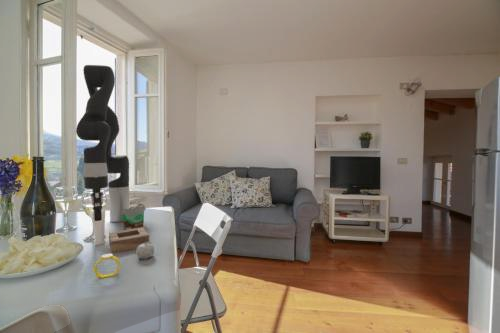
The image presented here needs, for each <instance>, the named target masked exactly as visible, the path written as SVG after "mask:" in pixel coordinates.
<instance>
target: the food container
mask: <svg viewBox="0 0 500 333" xmlns="http://www.w3.org/2000/svg"><path fill="white" fill-rule="evenodd" d="M145 211H146V206H145V204H143V203H138V205H137V206H132V207H131V206H130V208H129V209H122V212H121V214H123V221H122V222H123V230H128V229H134V228H140V227H143V228H144V224H145V223H144V222H145V221H144V220H145V219H144V218H145Z"/></svg>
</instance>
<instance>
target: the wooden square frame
mask: <svg viewBox="0 0 500 333" xmlns="http://www.w3.org/2000/svg"><path fill="white" fill-rule="evenodd" d="M145 242H150V235H149V233H148V232H147V231H146V229H145V228H144V226H143V227H140V228H134V229H128V230H124V229H122V230H117V231H110V232H108V243H109V248H110V254H116V253H117V254H118V253H121V252H125V251H131V250H135V249H137V247H138V246H139V245H141V244H143V243H145Z"/></svg>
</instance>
